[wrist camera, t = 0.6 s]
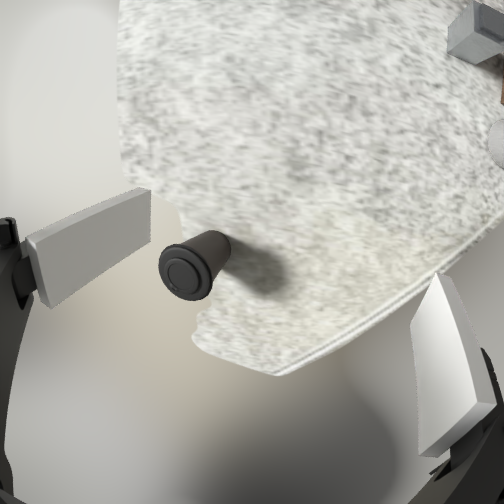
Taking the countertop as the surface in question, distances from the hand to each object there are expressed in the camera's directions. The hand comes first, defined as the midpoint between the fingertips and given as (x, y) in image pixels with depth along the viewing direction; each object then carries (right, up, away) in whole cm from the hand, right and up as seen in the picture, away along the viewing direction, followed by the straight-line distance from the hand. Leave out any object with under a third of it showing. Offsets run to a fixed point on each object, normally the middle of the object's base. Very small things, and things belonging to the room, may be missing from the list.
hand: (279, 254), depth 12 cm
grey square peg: (+24, +25, +9) cm, 36 cm away
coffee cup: (-7, +1, +32) cm, 33 cm away
